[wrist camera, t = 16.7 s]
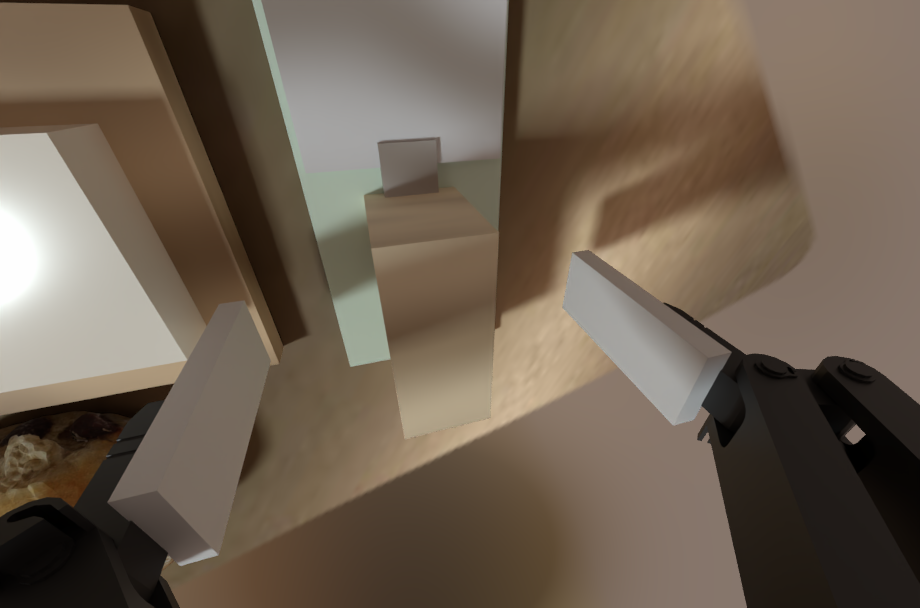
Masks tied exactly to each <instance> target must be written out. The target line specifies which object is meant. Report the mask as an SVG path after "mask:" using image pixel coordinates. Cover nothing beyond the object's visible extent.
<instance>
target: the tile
mask: <svg viewBox="0 0 920 608" xmlns="http://www.w3.org/2000/svg"><path fill="white" fill-rule="evenodd" d="M205 328H206V324H205V322H204V320H203V318H202V316H201V314H200V313H199V311H198V309H197V307H196V305H195V303H194V301H193V300H192V298H191V296H190V294H189V292H188V290H187V288H186V287H185V285H184V283H183V281H182V279H181V277H180V275H179V274H178V272H177V270H176V268H175V266H174V264H173V262H172V261H171V259H170V257H169V255H168V253H167V251H166V249H165V247H164V246H163V244H162V242H161V240H160V238H159V236H158V234H157V233H156V231H155V229H154V227H153V225H152V223H151V221H150V220H149V218H148V216H147V214H146V212H145V210H144V208H143V207H142V205H141V203H140V201H139V199H138V197H137V195H136V194H135V192H134V190H133V188H132V186H131V184H130V182H129V181H128V179H127V177H126V175H125V173H124V171H123V169H122V168H121V166H120V164H119V162H118V160H117V158H116V156H115V155H114V153H113V151H112V149H111V147H110V145H109V143H108V142H107V140H106V138H105V136H104V134H103V132H102V130H101V128H100V127H99V125H98V123H94V124H71V125H47V126H24V127H0V393H3V392H9V391H14V390H20V389H26V388H32V387H37V386H43V385H49V384H55V383H60V382H66V381H72V380H78V379H83V378H89V377H95V376H101V375H106V374H112V373H118V372H124V371H129V370H135V369H141V368H147V367H152V366H158V365H164V364H170V363H176V362H181V361H187V360H188V358H189V357H190V355H191V353H192V351H193V350H194V348H195V346H196V344H197V342H198V341H199V339H200V337H201V335H202V334H203V332H204V330H205Z"/></svg>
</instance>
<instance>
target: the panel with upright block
mask: <svg viewBox="0 0 920 608" xmlns="http://www.w3.org/2000/svg"><path fill="white" fill-rule="evenodd" d="M261 2H262V5H263V9H264V13H265V17H266V21H267V25H268V29H269V33H270V36H271V40H272V44H273V48H274V52H275V56H276V60H277V64H278V68H279V71H280V75H281V79H282V83H283V87H284V91H285V95H286V99H287V102H288V106H289V110H290V114H291V118H292V122H293V126H294V130H295V134H296V137H297V141H298V145H299V149H300V153H301V157H302V161H303V165H304V168H305V172H306V173H318V172H331V171H344V170H357V169H369V168H380V170H381V177H382V184H383V191H384V193H380V194H369V195H364V202H365V209H366V216H367V223H368V230H369V237H370V244H371V251H372V257H373V262H374V268H375V274H376V279H377V285H378V291H379V296H380V302H381V308H382V313H383V319H384V325H385V330H386V336H387V341H388V347H389V353H390V358H391V364H392V370H393V375H394V381H395V387H396V392H397V398H398V404H399V409H400V415H401V421H402V426H403V432H404V438H405V439H408V438H412V437H416V436H420V435H424V434H428V433H432V432H437V431H441V430H445V429H449V428H453V427H457V426H461V425H465V424H469V423H473V422H477V421H481V420H485V419H489V418H490V416H491V395H492V373H493V352H494V331H495V309H496V288H497V267H498V246H499V232H498V231H497V230H496V229H495V228H494V227H493V226H492V225H491V224H490V223H489V222H488V221H487V220H486V219H485V218H484V217H483V216H482V215H481V214H480V213H479V212H478V211H477V210H476V209H475V207H474V206H473V205H472V204H471V203H470V202H469V201H468V200H467V199H466V198H465V197H464V196H463V195H462V194H461V193H460V192H459V191H458V190H457V189H456V188H455V187H444V188H438V169H437V163H447V162H459V161H472V160H485V159H498V158H500V154H501V131H502V108H503V85H504V62H505V39H506V16H507V0H261Z"/></svg>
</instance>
